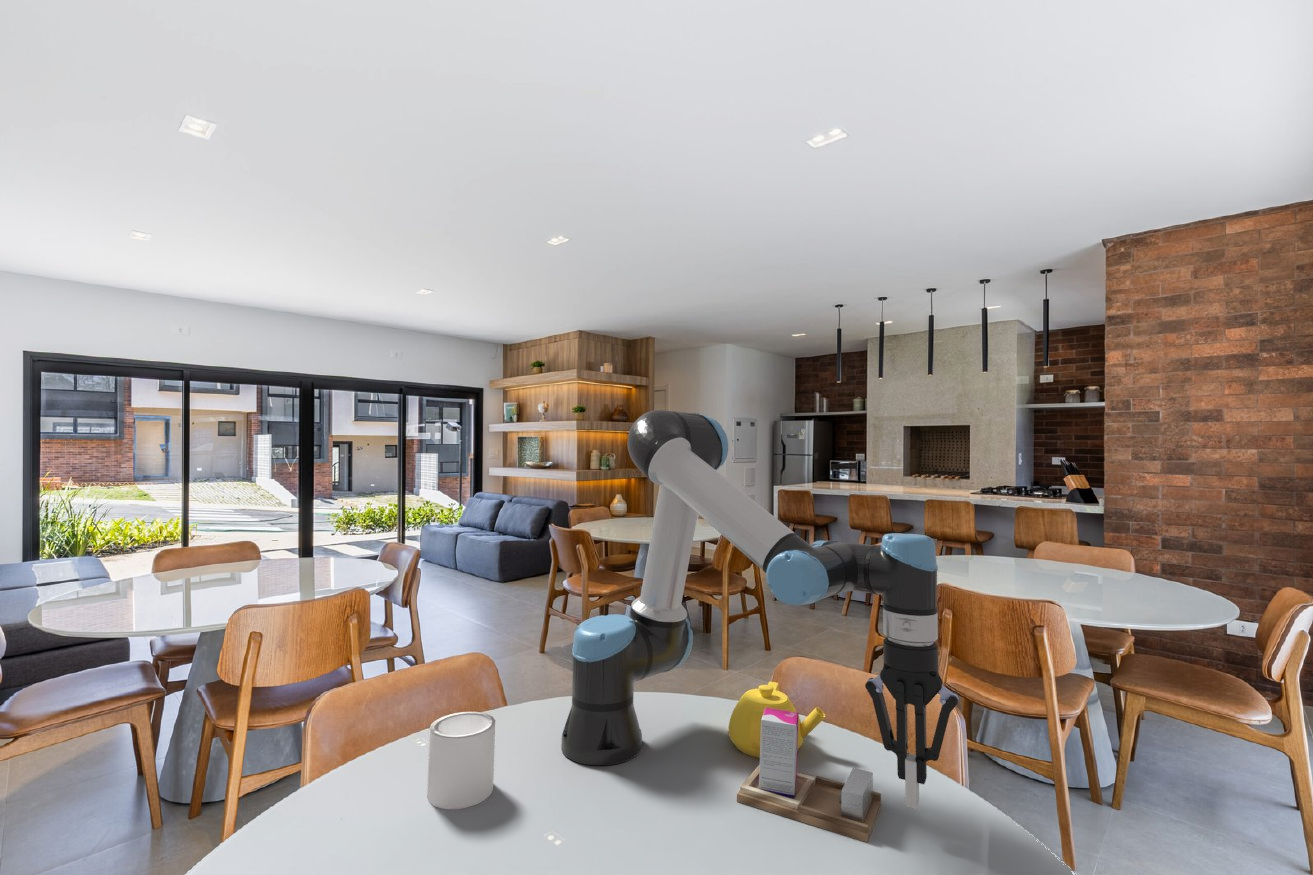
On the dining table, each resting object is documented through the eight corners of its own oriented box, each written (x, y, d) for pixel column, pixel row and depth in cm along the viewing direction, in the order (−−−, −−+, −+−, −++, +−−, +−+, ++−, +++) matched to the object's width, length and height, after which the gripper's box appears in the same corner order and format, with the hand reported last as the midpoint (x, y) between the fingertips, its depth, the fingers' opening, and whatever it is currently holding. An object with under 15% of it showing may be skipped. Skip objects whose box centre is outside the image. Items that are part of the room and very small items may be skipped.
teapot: (820, 781, 103) (821, 715, 104) (716, 761, 110) (717, 699, 110) (829, 733, 122) (830, 677, 123) (740, 718, 128) (740, 666, 129)
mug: (427, 771, 104) (429, 708, 105) (488, 762, 108) (490, 701, 108) (426, 814, 91) (429, 742, 92) (496, 802, 95) (498, 733, 95)
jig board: (736, 801, 96) (736, 788, 97) (761, 772, 106) (761, 760, 106) (867, 842, 86) (867, 828, 87) (881, 805, 96) (881, 792, 96)
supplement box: (795, 799, 95) (796, 725, 96) (757, 793, 97) (758, 719, 97) (798, 781, 101) (798, 711, 101) (762, 775, 102) (763, 706, 103)
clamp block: (837, 816, 90) (837, 789, 90) (849, 792, 97) (849, 766, 97) (862, 824, 88) (862, 796, 88) (872, 798, 95) (872, 772, 95)
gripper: (859, 638, 90) (861, 802, 89) (957, 652, 84) (960, 829, 82) (869, 627, 97) (871, 780, 95) (960, 639, 90) (963, 803, 89)
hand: (912, 803), depth 89 cm, fingers closed
